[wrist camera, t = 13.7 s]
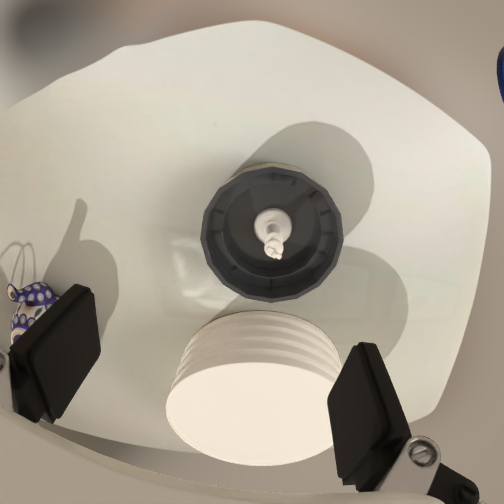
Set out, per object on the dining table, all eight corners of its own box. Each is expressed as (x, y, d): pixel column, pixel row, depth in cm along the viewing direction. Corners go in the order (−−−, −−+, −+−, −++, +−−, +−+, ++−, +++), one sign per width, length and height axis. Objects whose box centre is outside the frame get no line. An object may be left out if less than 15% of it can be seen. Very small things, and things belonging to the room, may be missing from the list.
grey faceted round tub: (221, 152, 36) (212, 155, 31) (345, 178, 37) (358, 186, 31) (203, 267, 42) (194, 287, 37) (314, 288, 43) (320, 311, 37)
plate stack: (226, 429, 57) (220, 472, 46) (152, 338, 48) (129, 385, 37) (354, 398, 51) (365, 443, 41) (311, 284, 42) (323, 333, 32)
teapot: (105, 372, 53) (76, 423, 39) (52, 355, 53) (19, 397, 39) (82, 262, 43) (28, 308, 30) (23, 252, 43) (-29, 288, 30)
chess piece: (275, 251, 40) (277, 287, 31) (246, 229, 39) (239, 259, 30) (299, 223, 38) (309, 252, 29) (269, 200, 38) (270, 221, 28)
